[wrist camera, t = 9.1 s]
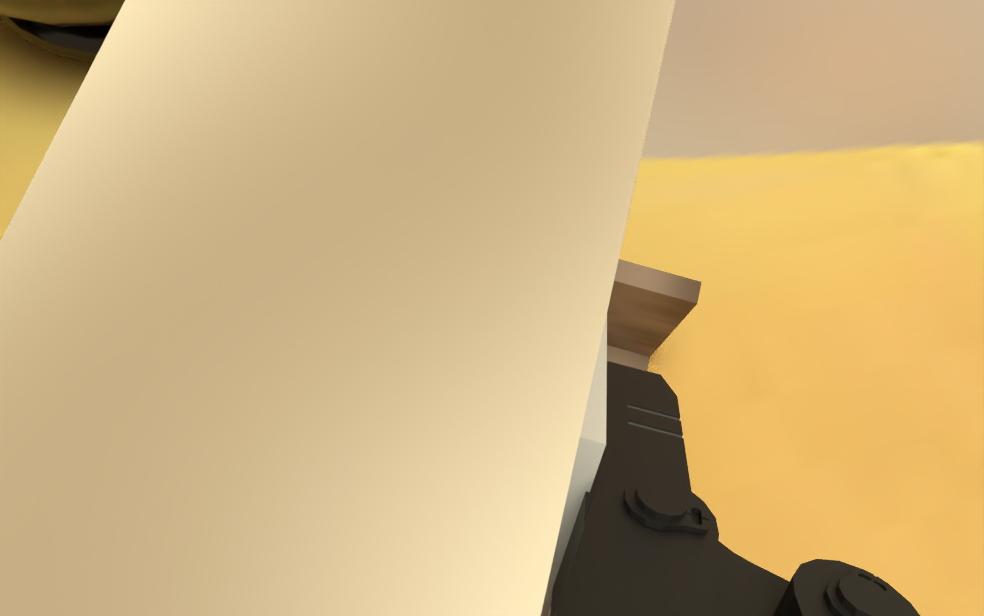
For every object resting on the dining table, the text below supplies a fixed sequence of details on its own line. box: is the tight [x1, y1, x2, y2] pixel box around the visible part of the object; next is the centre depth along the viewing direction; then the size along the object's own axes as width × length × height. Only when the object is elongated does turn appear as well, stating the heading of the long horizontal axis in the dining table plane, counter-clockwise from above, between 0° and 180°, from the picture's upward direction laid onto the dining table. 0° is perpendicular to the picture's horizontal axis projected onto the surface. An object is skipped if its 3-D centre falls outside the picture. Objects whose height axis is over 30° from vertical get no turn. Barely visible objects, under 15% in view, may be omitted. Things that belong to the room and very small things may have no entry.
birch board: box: [0, 0, 675, 616], centre depth 12 cm, size 4×12×15 cm, turn 166°
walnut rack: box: [547, 259, 701, 616], centre depth 36 cm, size 12×15×9 cm
